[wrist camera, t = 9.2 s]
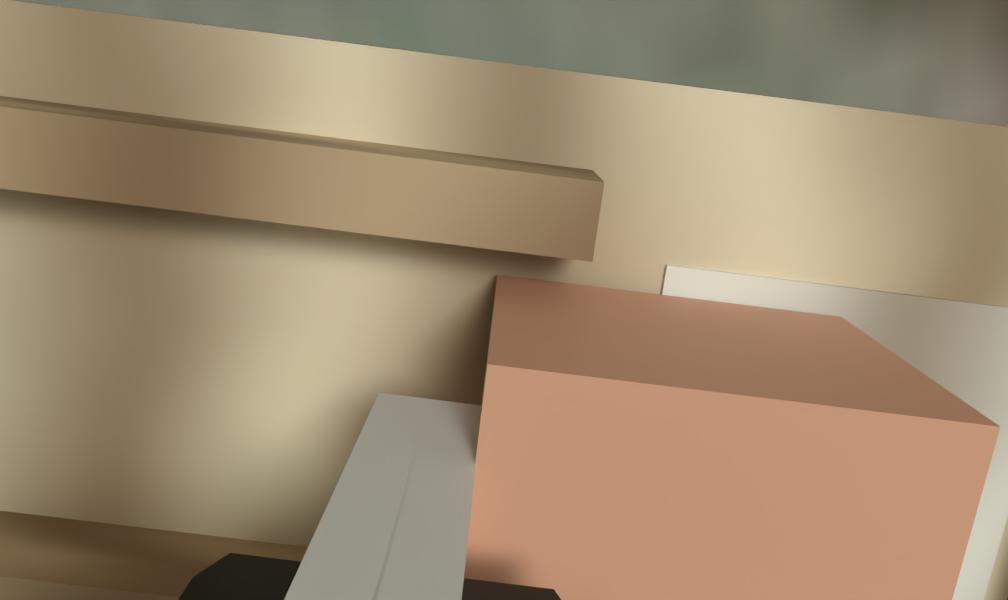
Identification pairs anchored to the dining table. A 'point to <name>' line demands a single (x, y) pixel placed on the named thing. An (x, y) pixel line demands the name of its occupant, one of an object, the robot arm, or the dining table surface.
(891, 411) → the block
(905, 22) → the dining table surface
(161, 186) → the chute
